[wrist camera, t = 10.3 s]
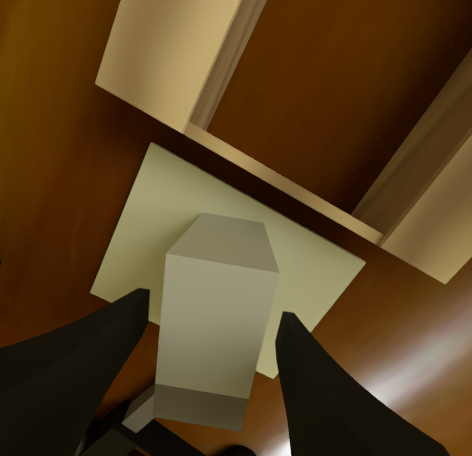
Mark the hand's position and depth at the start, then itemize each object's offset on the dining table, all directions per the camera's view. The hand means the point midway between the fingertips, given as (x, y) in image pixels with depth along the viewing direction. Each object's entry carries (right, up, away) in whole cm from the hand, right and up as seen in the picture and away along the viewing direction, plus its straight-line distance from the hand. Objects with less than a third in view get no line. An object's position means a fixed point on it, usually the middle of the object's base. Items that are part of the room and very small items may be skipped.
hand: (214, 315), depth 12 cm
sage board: (0, +1, +5) cm, 5 cm away
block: (0, +2, +4) cm, 4 cm away
